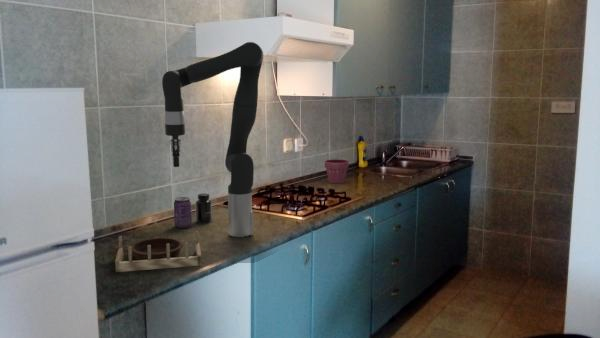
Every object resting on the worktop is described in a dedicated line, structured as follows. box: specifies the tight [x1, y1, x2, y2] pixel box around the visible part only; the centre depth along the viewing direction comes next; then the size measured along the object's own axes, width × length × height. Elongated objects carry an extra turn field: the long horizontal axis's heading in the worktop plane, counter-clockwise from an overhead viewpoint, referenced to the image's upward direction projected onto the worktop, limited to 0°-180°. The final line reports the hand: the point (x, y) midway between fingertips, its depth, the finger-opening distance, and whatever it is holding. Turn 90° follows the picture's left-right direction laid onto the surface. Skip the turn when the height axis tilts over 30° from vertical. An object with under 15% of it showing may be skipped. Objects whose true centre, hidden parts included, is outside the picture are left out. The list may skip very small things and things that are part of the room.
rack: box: [114, 230, 203, 273], centre depth 181 cm, size 27×15×8 cm, turn 104°
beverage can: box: [173, 196, 193, 229], centre depth 221 cm, size 7×7×12 cm
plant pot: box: [324, 158, 350, 184], centre depth 313 cm, size 14×14×13 cm
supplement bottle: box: [195, 192, 213, 224], centre depth 229 cm, size 7×7×12 cm
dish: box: [130, 237, 184, 261], centre depth 184 cm, size 17×22×5 cm
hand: (176, 166), depth 209 cm, fingers closed
